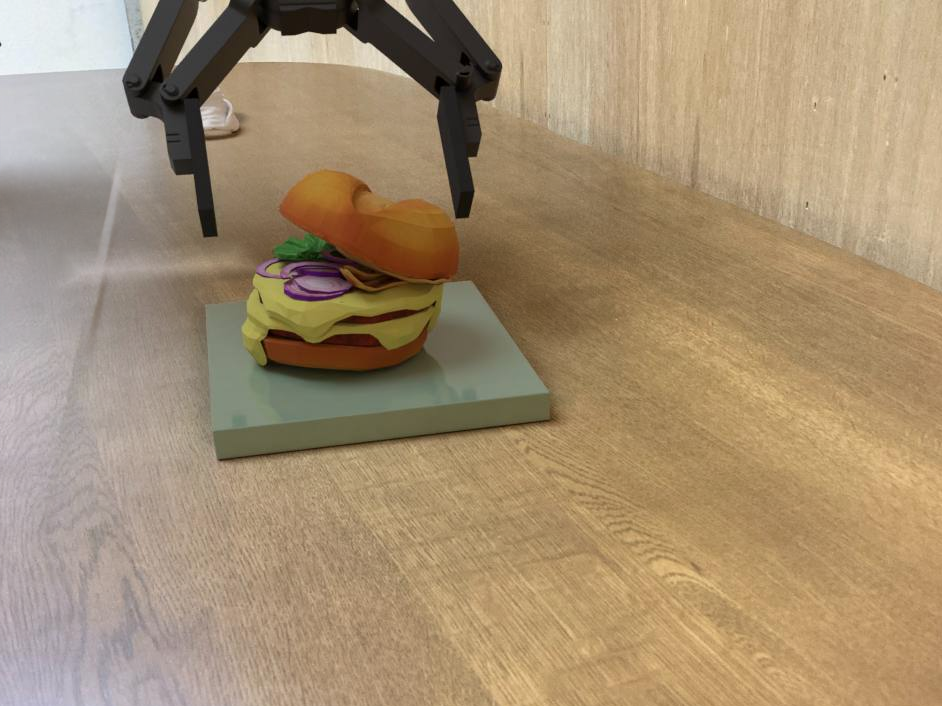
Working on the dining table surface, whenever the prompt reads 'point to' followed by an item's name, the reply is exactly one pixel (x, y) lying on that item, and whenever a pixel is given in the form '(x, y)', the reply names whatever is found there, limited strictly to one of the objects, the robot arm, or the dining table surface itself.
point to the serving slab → (371, 386)
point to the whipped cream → (218, 113)
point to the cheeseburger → (350, 278)
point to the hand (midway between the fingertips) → (339, 215)
